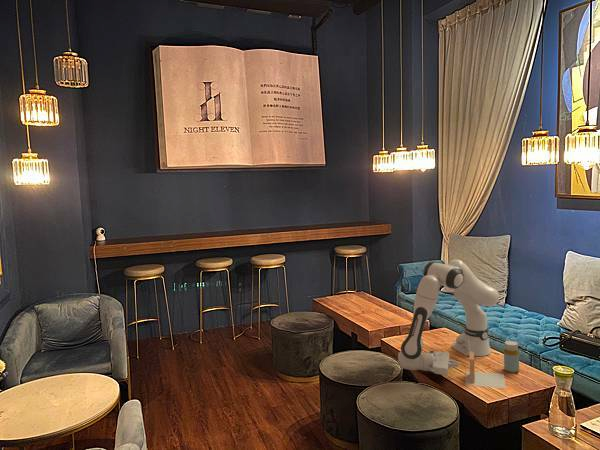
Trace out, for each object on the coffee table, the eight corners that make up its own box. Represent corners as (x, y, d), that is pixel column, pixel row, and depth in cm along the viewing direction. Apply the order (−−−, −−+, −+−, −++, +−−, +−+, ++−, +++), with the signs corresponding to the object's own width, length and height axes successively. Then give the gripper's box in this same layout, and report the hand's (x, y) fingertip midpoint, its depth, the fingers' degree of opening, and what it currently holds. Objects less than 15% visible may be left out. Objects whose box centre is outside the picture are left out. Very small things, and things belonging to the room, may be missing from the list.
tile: (470, 382, 237) (469, 359, 235) (470, 373, 246) (469, 351, 245) (474, 382, 236) (474, 359, 235) (474, 374, 245) (473, 351, 244)
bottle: (520, 374, 243) (520, 345, 241) (506, 373, 245) (505, 345, 243) (517, 368, 250) (516, 340, 248) (503, 368, 251) (502, 340, 250)
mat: (465, 386, 235) (465, 385, 235) (466, 372, 250) (466, 371, 250) (505, 389, 229) (505, 388, 229) (503, 374, 244) (503, 373, 244)
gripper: (428, 364, 237) (457, 366, 232) (431, 349, 256) (458, 350, 252) (428, 376, 238) (458, 379, 233) (431, 360, 257) (459, 362, 252)
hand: (458, 364), depth 243 cm, fingers closed
